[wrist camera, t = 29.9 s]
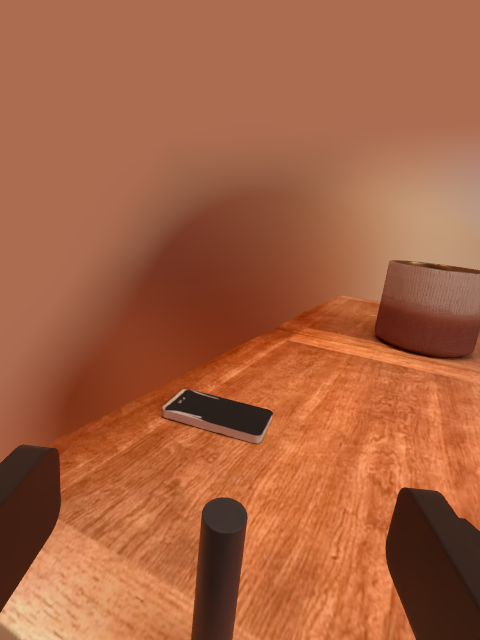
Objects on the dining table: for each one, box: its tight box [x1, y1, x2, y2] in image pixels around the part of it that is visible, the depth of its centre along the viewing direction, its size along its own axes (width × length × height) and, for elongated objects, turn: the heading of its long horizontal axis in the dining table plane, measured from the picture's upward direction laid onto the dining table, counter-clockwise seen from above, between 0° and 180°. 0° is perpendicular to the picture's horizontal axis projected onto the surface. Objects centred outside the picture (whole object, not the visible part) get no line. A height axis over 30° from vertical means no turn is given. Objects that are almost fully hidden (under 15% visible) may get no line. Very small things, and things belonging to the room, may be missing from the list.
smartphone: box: [162, 389, 273, 444], centre depth 53 cm, size 8×1×15 cm
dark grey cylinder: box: [191, 498, 247, 640], centre depth 22 cm, size 3×3×12 cm
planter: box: [375, 260, 480, 358], centre depth 100 cm, size 25×25×22 cm
